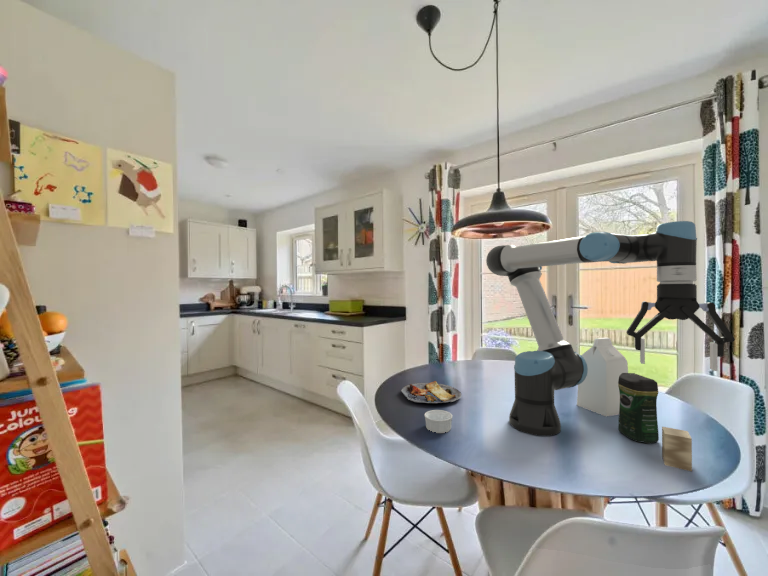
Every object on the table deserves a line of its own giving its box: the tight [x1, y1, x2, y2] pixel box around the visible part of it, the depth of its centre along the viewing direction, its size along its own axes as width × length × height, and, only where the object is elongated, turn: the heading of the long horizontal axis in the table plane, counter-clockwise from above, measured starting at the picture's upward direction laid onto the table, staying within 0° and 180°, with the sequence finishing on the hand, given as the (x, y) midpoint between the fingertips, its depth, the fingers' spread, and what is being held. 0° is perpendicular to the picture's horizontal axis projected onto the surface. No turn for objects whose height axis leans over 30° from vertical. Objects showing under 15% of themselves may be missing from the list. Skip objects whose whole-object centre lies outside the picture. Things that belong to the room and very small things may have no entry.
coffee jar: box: [617, 372, 660, 444], centre depth 97 cm, size 10×8×19 cm
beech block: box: [661, 426, 693, 472], centre depth 82 cm, size 5×5×8 cm
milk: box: [576, 337, 629, 417], centre depth 119 cm, size 12×12×26 cm
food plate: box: [400, 380, 462, 404], centre depth 134 cm, size 25×23×4 cm
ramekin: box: [424, 409, 453, 434], centre depth 104 cm, size 9×9×4 cm
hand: (676, 366), depth 82 cm, fingers open, 13 cm apart
